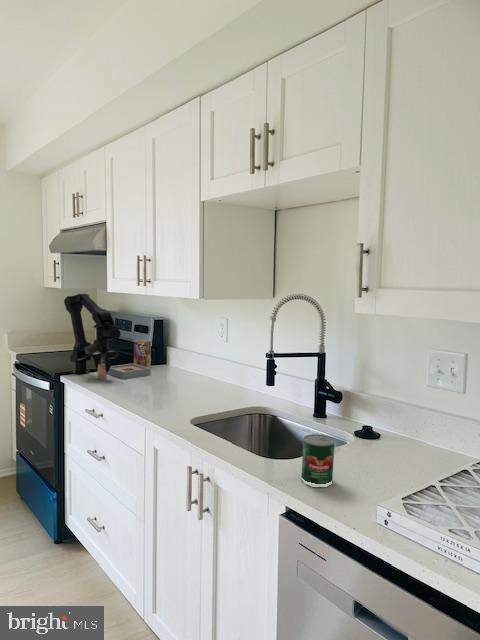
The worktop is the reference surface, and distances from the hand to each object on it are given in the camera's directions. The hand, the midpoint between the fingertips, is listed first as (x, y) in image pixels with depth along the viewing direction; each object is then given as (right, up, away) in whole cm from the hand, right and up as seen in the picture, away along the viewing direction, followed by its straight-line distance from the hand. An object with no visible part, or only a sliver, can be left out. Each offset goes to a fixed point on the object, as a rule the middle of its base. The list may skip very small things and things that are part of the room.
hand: (102, 370), depth 227 cm
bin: (+10, -3, +12) cm, 16 cm away
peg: (0, -4, 0) cm, 4 cm away
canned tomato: (+86, -17, -107) cm, 138 cm away
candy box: (+13, -2, +29) cm, 32 cm away
